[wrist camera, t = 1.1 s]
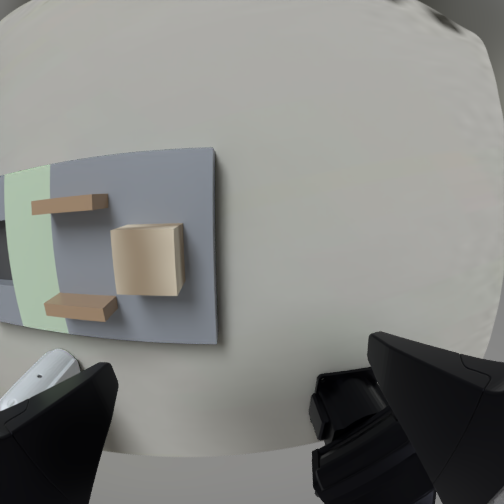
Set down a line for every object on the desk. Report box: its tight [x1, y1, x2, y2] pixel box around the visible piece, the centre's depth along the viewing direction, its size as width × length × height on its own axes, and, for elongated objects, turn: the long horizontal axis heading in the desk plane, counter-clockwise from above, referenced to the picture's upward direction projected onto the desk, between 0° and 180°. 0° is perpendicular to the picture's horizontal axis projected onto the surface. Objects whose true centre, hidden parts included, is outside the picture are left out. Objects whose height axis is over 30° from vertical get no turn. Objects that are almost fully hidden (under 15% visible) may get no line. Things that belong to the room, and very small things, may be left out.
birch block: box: [110, 223, 185, 296], centre depth 17 cm, size 4×4×3 cm
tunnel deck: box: [0, 147, 218, 344], centre depth 18 cm, size 26×14×4 cm, turn 90°
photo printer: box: [0, 349, 80, 411], centre depth 17 cm, size 10×4×12 cm, turn 172°
